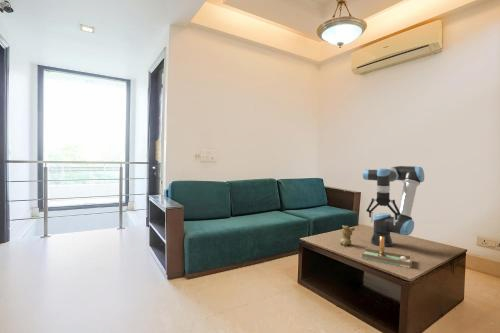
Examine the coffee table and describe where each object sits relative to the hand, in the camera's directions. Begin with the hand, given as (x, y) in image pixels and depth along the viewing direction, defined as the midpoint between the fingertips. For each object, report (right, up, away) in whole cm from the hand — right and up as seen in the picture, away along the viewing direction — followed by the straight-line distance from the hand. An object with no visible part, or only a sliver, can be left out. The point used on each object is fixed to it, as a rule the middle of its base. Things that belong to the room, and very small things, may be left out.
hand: (382, 223), depth 177 cm
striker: (-1, -21, -2) cm, 22 cm away
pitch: (+1, -23, -3) cm, 23 cm away
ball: (+9, -21, -8) cm, 24 cm away
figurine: (-15, -22, +26) cm, 37 cm away
